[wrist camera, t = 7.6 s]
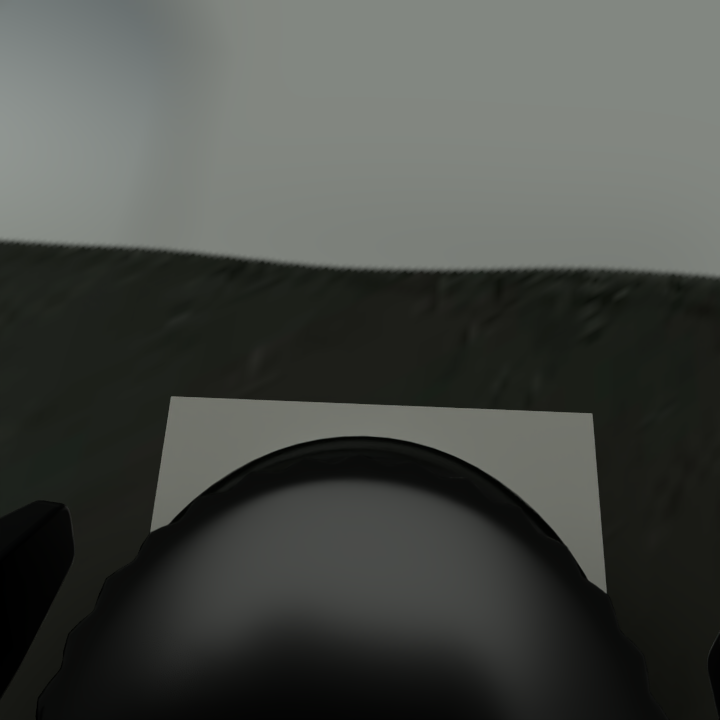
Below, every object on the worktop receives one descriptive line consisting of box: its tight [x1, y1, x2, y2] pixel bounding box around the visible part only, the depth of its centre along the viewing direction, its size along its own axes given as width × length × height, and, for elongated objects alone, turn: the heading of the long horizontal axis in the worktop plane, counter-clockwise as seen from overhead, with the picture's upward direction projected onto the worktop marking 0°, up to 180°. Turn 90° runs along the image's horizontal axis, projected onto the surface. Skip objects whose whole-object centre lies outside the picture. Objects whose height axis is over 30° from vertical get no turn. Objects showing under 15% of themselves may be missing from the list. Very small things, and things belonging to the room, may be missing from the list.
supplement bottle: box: [36, 436, 669, 720], centre depth 10 cm, size 7×7×12 cm
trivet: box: [150, 397, 607, 594], centre depth 16 cm, size 12×12×1 cm
